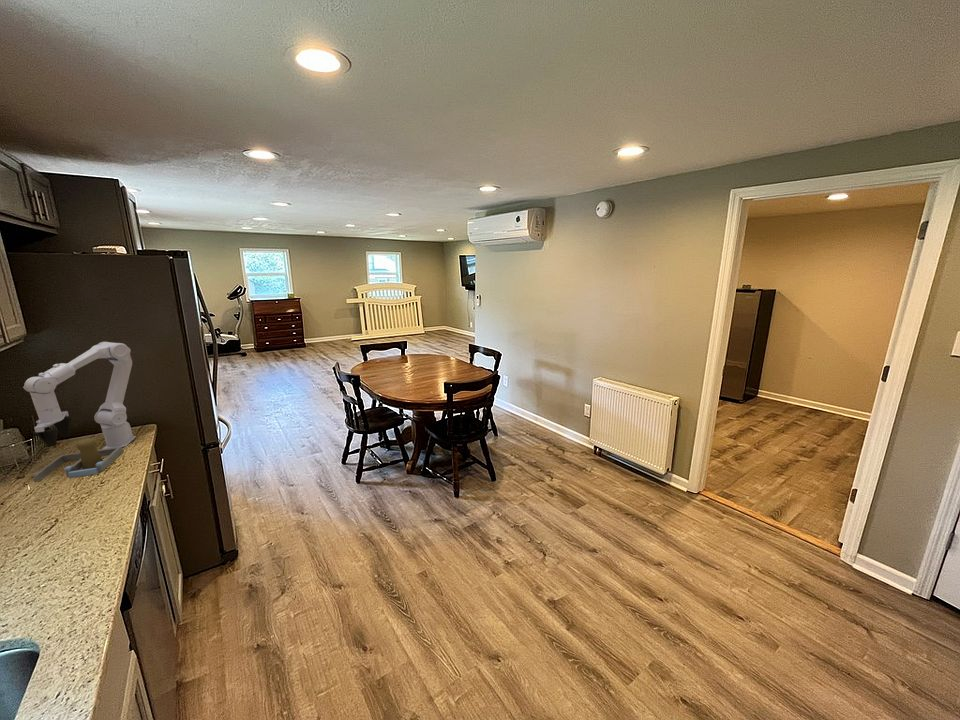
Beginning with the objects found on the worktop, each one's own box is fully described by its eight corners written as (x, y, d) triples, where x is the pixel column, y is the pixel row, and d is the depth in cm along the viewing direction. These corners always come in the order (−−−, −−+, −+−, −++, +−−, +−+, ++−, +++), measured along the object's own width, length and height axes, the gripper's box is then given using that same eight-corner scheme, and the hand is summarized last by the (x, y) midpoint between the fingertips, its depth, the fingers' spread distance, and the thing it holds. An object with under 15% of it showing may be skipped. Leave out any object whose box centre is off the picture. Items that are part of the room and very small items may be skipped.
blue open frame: (62, 460, 149) (60, 453, 148) (123, 451, 156) (121, 444, 155) (32, 483, 135) (29, 475, 134) (101, 473, 141) (98, 465, 140)
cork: (91, 470, 143) (82, 444, 140) (77, 469, 143) (68, 443, 140) (108, 461, 148) (100, 436, 145) (95, 460, 149) (87, 435, 146)
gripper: (47, 402, 144) (58, 434, 148) (18, 417, 131) (31, 452, 135) (70, 399, 147) (81, 431, 151) (44, 414, 134) (56, 448, 138)
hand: (59, 441), depth 143 cm, fingers open, 7 cm apart
